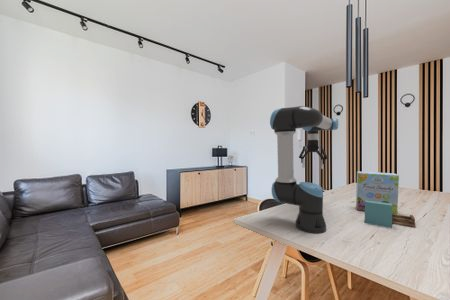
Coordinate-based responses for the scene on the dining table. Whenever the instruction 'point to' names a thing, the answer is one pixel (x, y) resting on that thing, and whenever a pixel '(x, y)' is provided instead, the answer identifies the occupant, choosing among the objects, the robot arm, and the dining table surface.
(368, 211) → the door panel
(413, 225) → the brown wooden tray
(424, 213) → the dining table surface
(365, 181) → the snack box
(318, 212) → the robot arm
